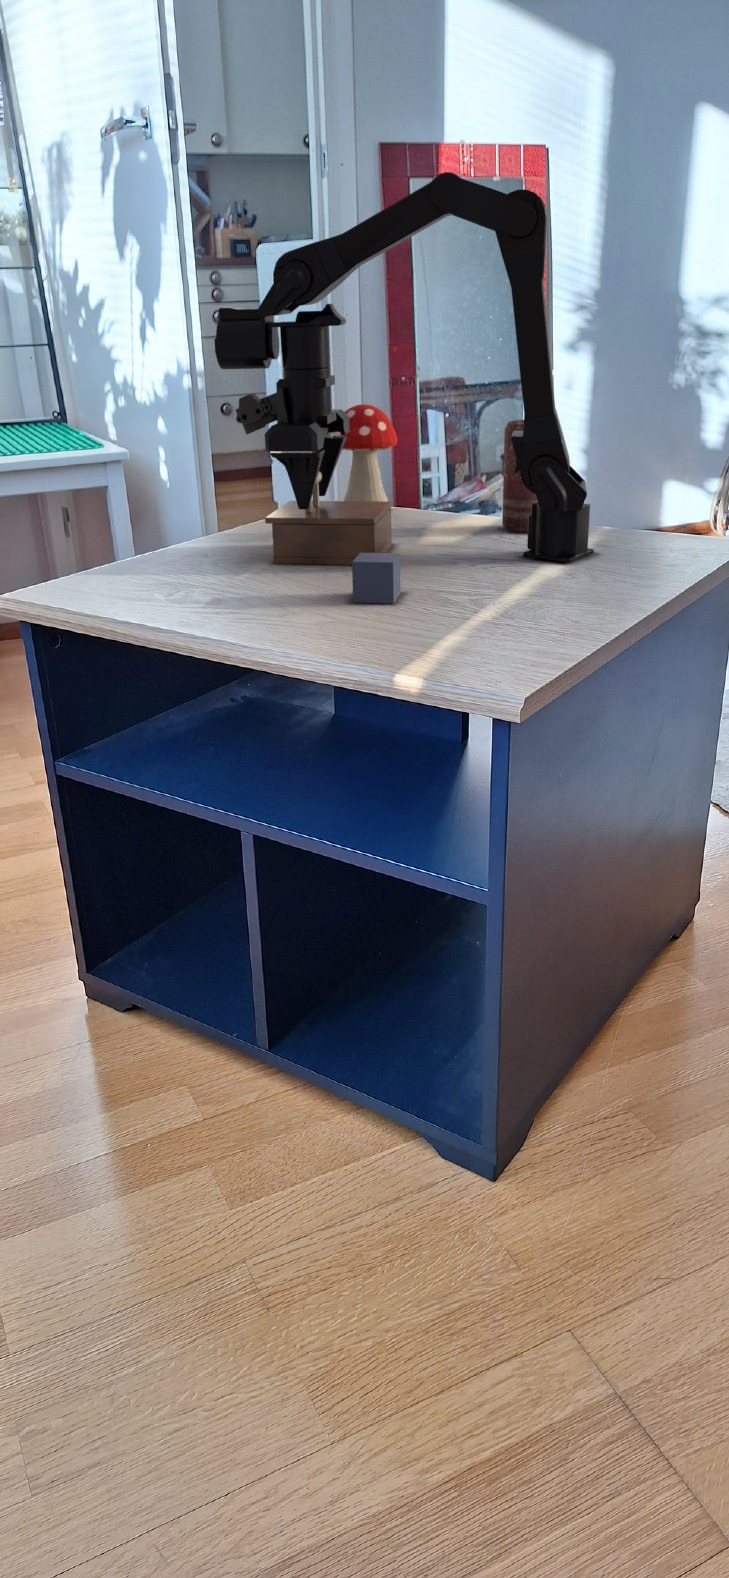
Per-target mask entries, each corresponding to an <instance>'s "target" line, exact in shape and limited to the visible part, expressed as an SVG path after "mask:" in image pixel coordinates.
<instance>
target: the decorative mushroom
mask: <svg viewBox="0 0 729 1578" xmlns="http://www.w3.org/2000/svg"><path fill="white" fill-rule="evenodd" d="M344 412H345V413H346V414H347V415H348V416H349V432H348V433H347V434H341V433H340V432H336V436H347V439H346V441H345V443H344V445H343V448H342V451H352V457H351V466H350V470H349V480H348V485H347V491H346V493H345V496H344V498H343V501H380V502H389V499H388V497H387V494H386V492H385V489H384V486H383V481H382V475H381V469H380V466H379V461H378V460H379V459H378V451H382V450H388V449H390V448H392V447H393V448H394V447H395V446H397V445H398V435H397V433H396V430H395V427H394V426H393V424H392V422H391V420H390V417H388V415H387V414H386V413H385V412H384V411H383V410H382V409H380V408H378V407H376V406H374V405H371V404H366V403H365V404H364V403H363V404H356V405H353V406H351V407H349V408H348V409H346V410H345V411H344Z"/></svg>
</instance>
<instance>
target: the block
mask: <svg viewBox="0 0 729 1578" xmlns="http://www.w3.org/2000/svg"><path fill="white" fill-rule="evenodd" d="M351 573H352V574H351V577H352V578H351V579H352V602H353V604H385V605H386V604H389V605H394V604H395V603H396V601H397V599H398V598H399V597H400V595H401V590H402V589H401V553H400V552H386V553H360V554H359V555H358V556H357V557H356V558H355V559H354V560H353V561H352V565H351Z"/></svg>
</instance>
